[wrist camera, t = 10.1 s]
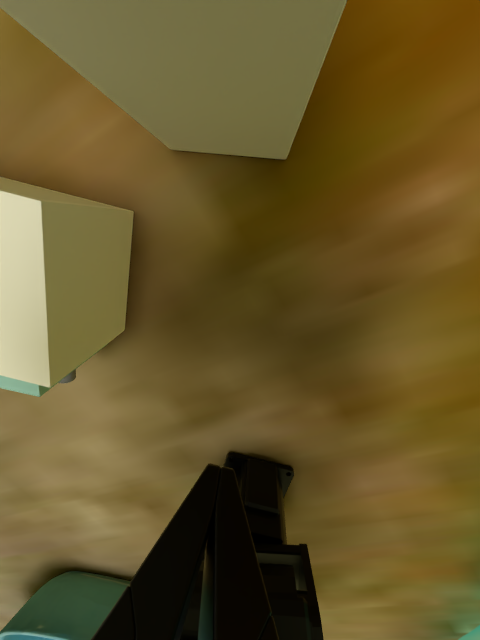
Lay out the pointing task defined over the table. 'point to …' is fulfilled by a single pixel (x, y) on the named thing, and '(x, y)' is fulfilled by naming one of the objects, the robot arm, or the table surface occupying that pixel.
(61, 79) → the table surface
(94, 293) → the cupboard
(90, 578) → the casserole dish
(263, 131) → the milk carton
